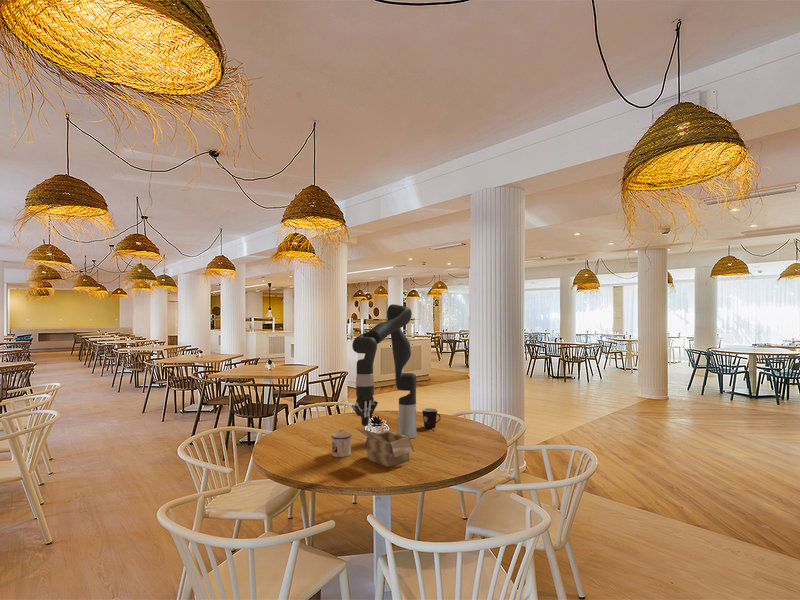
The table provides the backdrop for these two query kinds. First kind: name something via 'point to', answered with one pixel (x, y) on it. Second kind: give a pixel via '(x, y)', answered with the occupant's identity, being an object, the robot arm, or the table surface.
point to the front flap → (371, 435)
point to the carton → (389, 449)
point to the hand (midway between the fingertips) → (365, 425)
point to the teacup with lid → (341, 443)
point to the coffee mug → (430, 417)
